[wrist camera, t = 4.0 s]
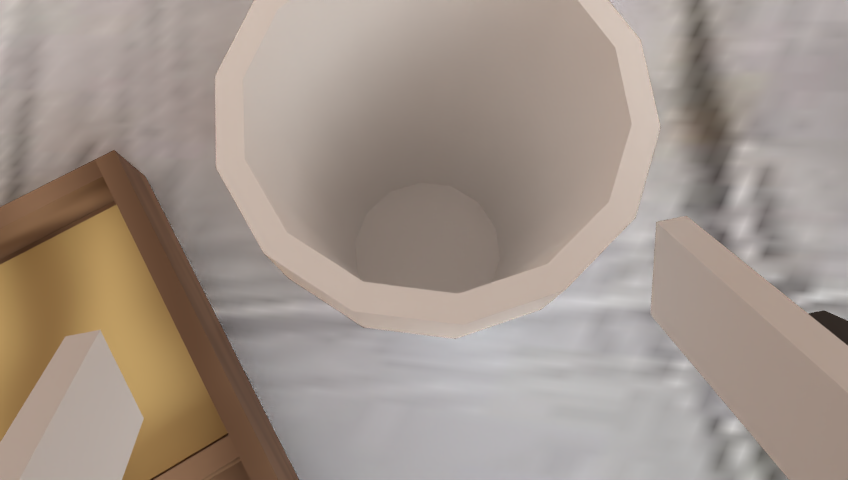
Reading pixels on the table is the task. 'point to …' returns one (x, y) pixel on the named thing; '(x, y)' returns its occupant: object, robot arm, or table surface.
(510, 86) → the foam cup
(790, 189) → the table surface
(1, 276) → the compartment tray
